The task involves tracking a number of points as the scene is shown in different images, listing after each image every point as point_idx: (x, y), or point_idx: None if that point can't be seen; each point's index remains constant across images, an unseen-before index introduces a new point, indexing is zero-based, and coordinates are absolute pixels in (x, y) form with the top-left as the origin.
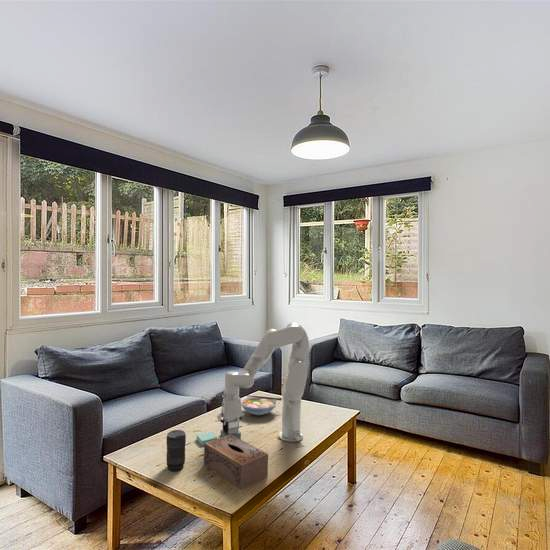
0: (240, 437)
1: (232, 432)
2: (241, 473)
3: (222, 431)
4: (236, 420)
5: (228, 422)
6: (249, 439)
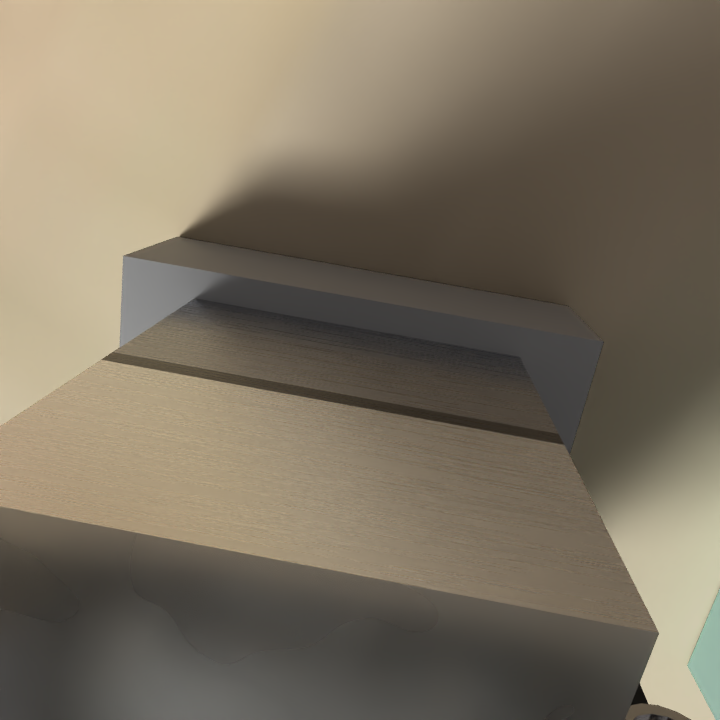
0: (182, 240)
1: (386, 350)
2: None
3: None
4: (5, 630)
5: (633, 687)
6: (22, 14)
